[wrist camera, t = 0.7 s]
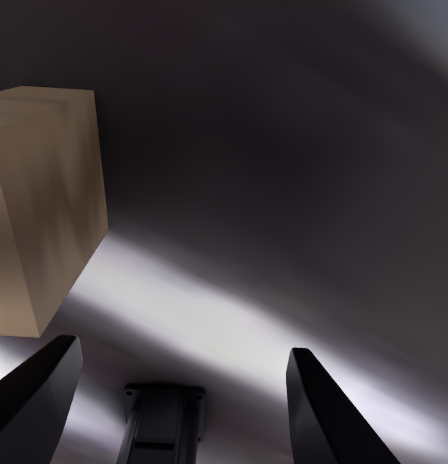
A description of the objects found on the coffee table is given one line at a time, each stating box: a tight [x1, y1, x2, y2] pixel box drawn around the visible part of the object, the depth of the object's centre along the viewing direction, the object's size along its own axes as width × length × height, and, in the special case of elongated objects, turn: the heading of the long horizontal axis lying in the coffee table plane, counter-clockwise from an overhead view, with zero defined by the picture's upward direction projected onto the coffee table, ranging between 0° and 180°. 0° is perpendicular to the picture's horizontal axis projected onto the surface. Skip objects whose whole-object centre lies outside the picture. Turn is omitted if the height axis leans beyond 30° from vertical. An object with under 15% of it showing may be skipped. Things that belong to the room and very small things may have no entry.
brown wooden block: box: [0, 86, 109, 338], centre depth 16 cm, size 8×4×9 cm, turn 177°
